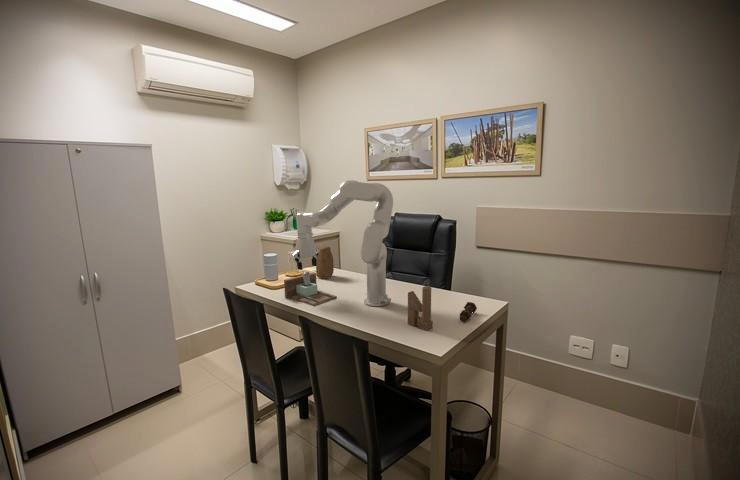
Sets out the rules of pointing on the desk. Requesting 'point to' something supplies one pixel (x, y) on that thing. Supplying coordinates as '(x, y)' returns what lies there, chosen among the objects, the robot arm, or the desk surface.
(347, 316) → the desk surface
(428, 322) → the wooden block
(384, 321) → the desk surface
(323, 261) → the brown tall rounded block
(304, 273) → the peg
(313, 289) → the teal square socket
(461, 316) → the dumbbell
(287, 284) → the backstop board
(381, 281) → the robot arm
